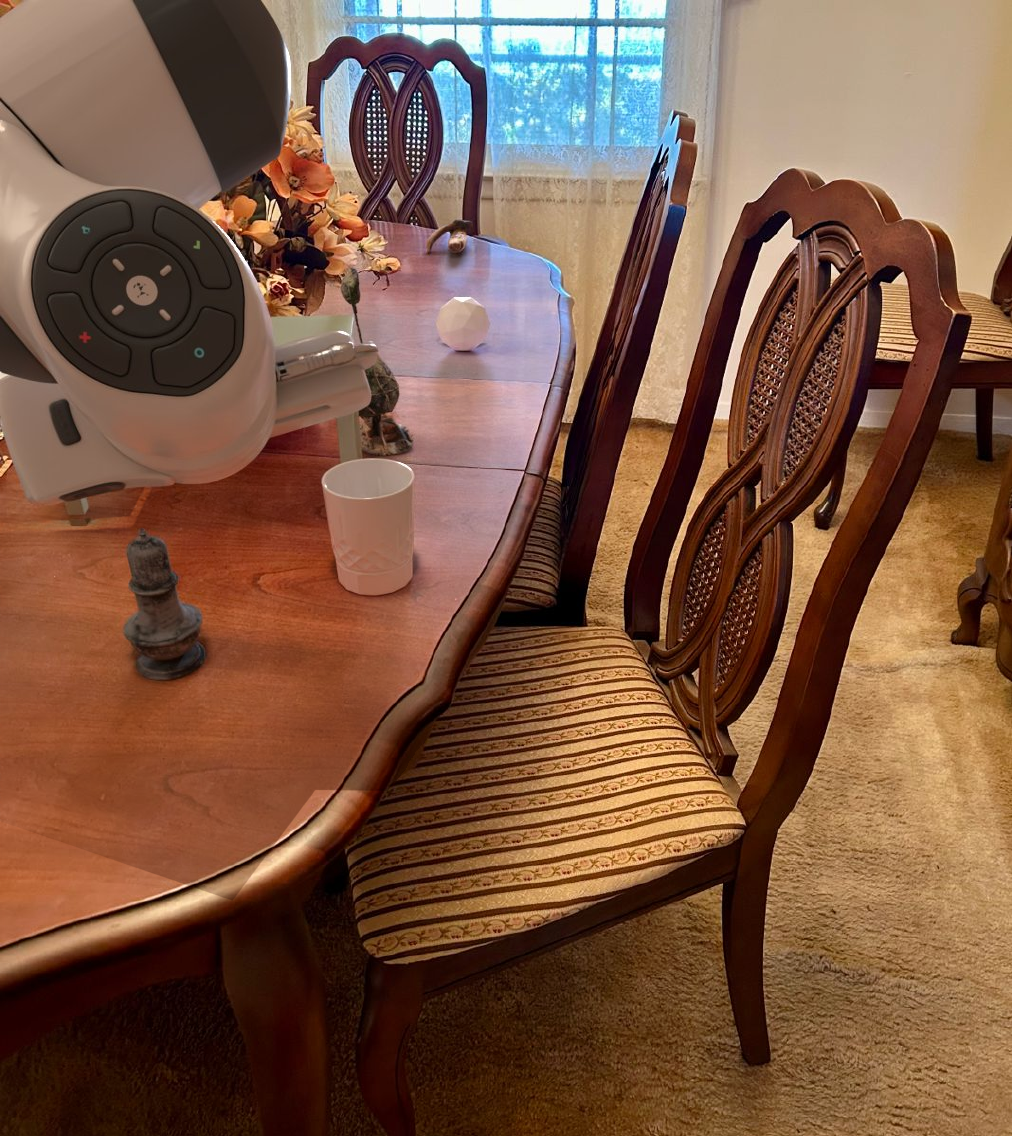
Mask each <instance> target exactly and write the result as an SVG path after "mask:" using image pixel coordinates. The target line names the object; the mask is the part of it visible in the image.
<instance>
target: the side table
mask: <svg viewBox="0 0 1012 1136" xmlns="http://www.w3.org/2000/svg"><path fill="white" fill-rule="evenodd" d="M270 318H271V322H272V327H273V333H274V340H275V346H277V345H281V344H284V343H288V342H292V341H295V340H299V339H303V338H306V337H310V336H313V335H318V334H322V333H328V332H337V331H338V332H344V333H347V334H348V335H350V336H351V338H352V339H353V341H354V342H355V341H356V326H355V325H356V322H355V315H354V314H338V315H337V314H335V315H334V314H331V315H329V314H328V315H327V314H326V315H325V314H324V315H290V316H289V315H288V316H287V315H286V316H284V315H283V316H270ZM335 420H336V421H335V422H336V423H335V424H336V432H337V443H338V453H339V464H341V463H344V462H348V461H352V460H358V459H363V451H362V447H361V435H360V425H361V423H360V416H359V411H357V412H355V413H352V414H348V415H345V416H341V417H338V418H335ZM64 505H65V509H66V514H67V516H82V515H83V516H84V515H86V513H87V511H88V509H90V506H89V503H88V499H87V498H83V499H79V500H75V501H70V502H64ZM91 519H92V517H80V518H68V520H69V524H70V526H71V527H79V526H80V527H81V526H82V527H83V526H88V525H89V523H90V522H91Z"/></svg>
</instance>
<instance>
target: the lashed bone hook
mask: <svg viewBox="0 0 1012 1136" xmlns="http://www.w3.org/2000/svg"><path fill="white" fill-rule="evenodd" d="M473 225H474V223H473V222H472V221H470V220H463V219H455V220H453V221H452V222H451V223H447V224H445V225H443V226H441V227H439V228H438V229H436V230H435V231H434V232H433V233H432V234H431V235H430V236H429V238H428V239H427V242H426V251H427V253H428V254H430V253H431V250H432V248H433V246H434V244H435V242H436V241H438V240H439V239H440V238H441V237H442V236H444V235H445V234H447V233H449V239H448V242H447V247H448V249H449V251H450V252H451V253H454V254H459V253H461V252H462V251H463V250H464V249H465V248H466V246H467V243H468V234H469V229H470V228H472V227H473Z"/></svg>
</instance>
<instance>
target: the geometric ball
mask: <svg viewBox="0 0 1012 1136" xmlns="http://www.w3.org/2000/svg"><path fill="white" fill-rule="evenodd" d="M490 322H491V321H490V319H489V316H488V314H487V310H486V308H485V306H484V305H482V304H481V303H479V302H478V301H477V300H475V299H474V298H472V297H470V296H469V297H467V296H466V297H464V296H463V297H461V296H459V297H456V296H455V297H452V298H451V299H450V300H449V301H447V302H446V303H445V304H443V305H442V306H441V307H440V308H439V311H438V315H437V319H436V321H435V326H436V329H437V332H438V335H439V338H440V341H441V342H442V343H444V344H445V345H446V346H448V347H450V348H451V349H452V350H454V351H473V350H475V349H476V348H477V347H478V346H479V345H481V344H482V343H484V342H485V341H486V338H487V336H488V332H489V329H490V326H491V323H490Z"/></svg>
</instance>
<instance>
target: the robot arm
mask: <svg viewBox="0 0 1012 1136" xmlns="http://www.w3.org/2000/svg"><path fill="white" fill-rule="evenodd" d="M20 1H21V2H20V3H19V4H17V5H16V6H15V7H13V8H12V9H10V10H9V11H8V12H6V13H5V14H3V15H2V16H1V17H0V373H1V374H4V375H5V376H2V377H1V378H0V429H1V432H2V434H3V438H4V441H5V444H6V446H7V447H6V448H7V450H8V453H9V455H10V459H11V461H12V464H13V466H14V469H15V472H16V475H17V477H18V480H19V483H20V485H21V487H22V490H23V493H24V496H25V498H26V500H27V501H28V502H29V503H30V504H32V505H36V506H54V505H58V504H62V503H65V502H70V501H75V500H79V499H83V498H86V499H87V498H90V497H91V498H92V497H95V496H98V495H99V496H100V495H103V494H108V493H114V492H121V491H123V490H125V489H134V488H151V487H152V488H153V487H170V486H172V485H175V483H176V484H181V485H202V484H210V483H213V482H214V483H215V482H218V481H220V480H224V479H226V478H228V477H231V476H233V475H235V474H237V473H238V472H240V471H242V470H243V469H244V468H246V467H247V466H248V465H250V463H252V462H253V461H254V460H255V459H256V458H257V457H258V455H259V454H260V453H261V452H262V450H263V449H264V448H265V447H266V444H267V443H268V441H269V439H270V438H274V437H278V436H281V435H284V434H286V433H292V432H293V431H294V432H295V431H297V430H300V429H304V428H308V427H311V426H314V425H315V426H316V425H317V424H321V423H325V422H328V421H332V420H336V418H338V417H341V416H345V415H348V414H352V413H355V412H357V411H359V410H361V409H363V408H365V407H366V406H368V405H369V404H370V401H371V390H370V386H369V383H368V380H367V377H366V374H365V371H364V370H366V369H368V368H370V367H371V366H373V365H374V364H375V363H376V361H377V358H378V354H379V349H378V347H377V346H376V345H375V343H374V342H373V341H371V340H370V341H369V340H368V341H366V342H363V343H361V342H360V343H358V344H356V343H355V341H353V339H352V338H351V336H350V335H348V334H347V333H344V332H338V331H337V332H328V333H322V334H318V335H313V336H310V337H306V338H303V339H299V340H295V341H292V342H288V343H284V344H281V345H277V346H275V340H274V333H273V327H272V322H271V318H270V317H271V314H270V311H269V309H268V304H267V301H266V300H265V299H266V298H265V297H264V294H263V292H262V289H261V287H260V285H259V283H258V280H257V278H256V277H255V275H254V273H253V271H252V269H251V267H250V266H249V264H248V261H246V260H245V257H244V256H243V255H242V253H241V252H240V250H239V249H238V247H237V246H236V244H235V243H234V242H233V241H232V239H231V238H230V237H229V235H227V233H226V232H225V231H224V230H223V229H222V227H220V226H219V225H218V224H217V223H216V222H215V221H214V220H213V219H212V218H211V217H209V215H207V213H205V212H203V211H202V210H201V208H203V206H205V205H206V204H207V203H208V202H210V201H211V200H212V199H213V198H215V197H216V196H217V195H218V194H220V193H223V194H225V193H227V192H228V191H230V190H231V189H233V188H234V187H236V186H237V185H239V184H241V183H242V182H243V181H246V180H247V179H248V178H250V177H251V176H253V175H254V174H255V173H257V172H258V171H260V170H262V169H263V168H264V167H266V166H267V165H269V164H271V163H272V162H274V161H275V160H277V159H278V158H279V157H280V156H281V152H282V148H283V144H284V140H285V136H286V131H287V127H288V122H289V121H288V120H289V113H290V107H291V106H290V104H291V91H292V77H291V76H292V73H291V71H292V70H291V59H290V54H289V51H288V48H287V45H286V43H285V42H286V41H285V40H284V37H283V35H282V33H281V31H280V29H279V27H278V25H277V23H276V21H275V19H274V18H273V16H272V14H271V13H270V11H269V9H268V8H267V6H266V5H265V4H264V2H263V0H20Z"/></svg>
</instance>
